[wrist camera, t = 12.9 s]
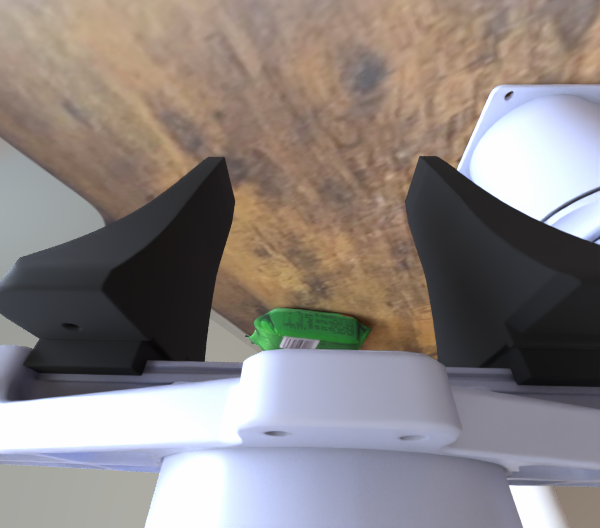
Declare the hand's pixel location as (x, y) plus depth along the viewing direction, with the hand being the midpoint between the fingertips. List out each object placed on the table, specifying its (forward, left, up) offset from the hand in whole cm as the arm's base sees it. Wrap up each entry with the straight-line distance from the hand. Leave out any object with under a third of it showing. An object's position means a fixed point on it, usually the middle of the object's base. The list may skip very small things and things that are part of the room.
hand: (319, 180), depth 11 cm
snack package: (+1, +29, -11) cm, 31 cm away
